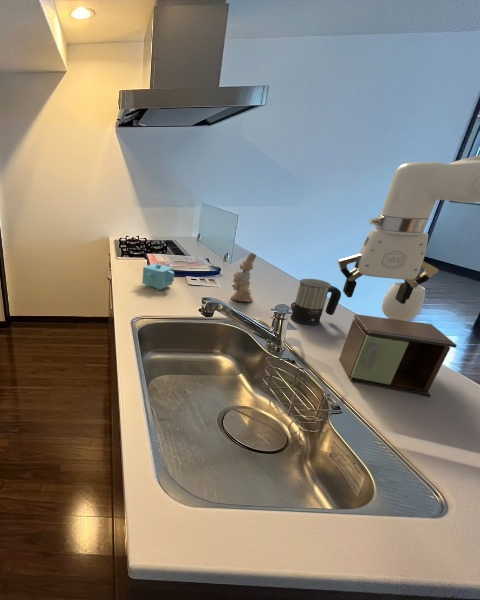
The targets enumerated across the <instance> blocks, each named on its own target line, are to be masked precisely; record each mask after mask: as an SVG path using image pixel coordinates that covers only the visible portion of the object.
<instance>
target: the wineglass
mask: <svg viewBox="0 0 480 600" xmlns="http://www.w3.org/2000/svg"><path fill="white" fill-rule="evenodd" d="M402 283H403V282H401V281H400V282H394V283H393V284H392V285H391V286H390V288H389V289H388V290H387V292H386V294H385V296H384V297H383V300H382V304H381V310H382V312H383V314H384V316H385V317H386V318H388V319H396V320H404V321H411V320H412V319H414V318H416V317H417V316H418V315H419V313H420V312H421V310H422V308H423V306H424V303H425V297H426V288H425V287H424V286H422V285H420V284H419V285H418V286H417V287H415V288H413V291H412V293H411V295H410V298H409V299H408V300H406V302H405V304H401V303H400V302H398V301H397V300H396V299H395V297H396V295H397V292H398V290H399V287H400V285H401V284H402Z"/></svg>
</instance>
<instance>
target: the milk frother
mask: <svg viewBox="0 0 480 600" xmlns="http://www.w3.org/2000/svg"><path fill="white" fill-rule="evenodd" d="M328 293H330V297H329V299H328V302H327V304H326V301H327V297H328ZM341 297H342V292H341V290H340V289H339V288H337V287H336V286H334V285H331V283H329V282H328V281H325V280H322V279H316V278H302V279H299V286H298V290H297V293H296V298H295V301H294V302H292V303H291V304H290V308H291V309H292V313H291V315H290V316H289V317H290V319H291V320H292V321H294V322H297V323H299V324H302V325H306V326H307V325H309V326H316V325H319V324H320V323H321V317H322V315H323V311H324V308H325V304H326V308H325V313H326V314H327V315H329V316H333V315H334V314H335V311H336V309H337V307H338V305H339V302H340V299H341Z"/></svg>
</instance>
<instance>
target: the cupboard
mask: <svg viewBox="0 0 480 600" xmlns="http://www.w3.org/2000/svg"><path fill="white" fill-rule="evenodd" d="M366 335H370V336H377V337H384V338H391V339H397V340H404V341H408V342H409V344H408V346H407V348H406V350H405V353H404V355H403V357H402V359H401V362H400V364H399V366H398V368H397V370H396V373H395V375H394V377H393V379H392V382H391V384H390V385H389V384H384V383H378V382H373V381H368V380H363V379H358V378H352V377H351V374H352V372H353V369H354V366H355V364H356V361H357V359H358V356H359V353H360V351H361V348H362V345H363V343H364V340H365V338H366ZM456 347H457V344H456V343H455V342H454V341H453V340H452V339H450V338H449V337H448V336H447V335H445V334H444V333H443V332H442V331H441V330H439V329H438V328H437V327H436V326H434V325H433V324H432V323H427V322H419V321H412V320H407V321H404V320H396V319H389V318H388V317H382V316H381V317H380V316H373V315H365V314H357V313H355V314H354V316H353V319H352V321H351V324H350V327H349V330H348V332H347V336H346V339H345V342H344V344H343V347H342V350H341V353H340V355H339V358H338V361H339V362H340V364H341V366H342V368H343V370H344V372H345V374H346V376H347V378H348V379H349V381H350V382H351V383H357V384H361V385H367V386H371V387H377V388H382V389H386V390H391V391H392V390H393V391H398V392H402V393H408V394H413V395H418V396H422V397H427V398H430V397H431V396H432V394H431V393H430V389H431V387H432V385H433V383H434V381H435V379H436V377H437V375H438V374H439V372H440V369H441V367H442V366H443V363H444V362H445V359H446V358H447V355H448V353H449V352H450V350H451V348H456Z"/></svg>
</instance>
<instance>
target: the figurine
mask: <svg viewBox="0 0 480 600" xmlns="http://www.w3.org/2000/svg"><path fill="white" fill-rule="evenodd" d="M256 257H257V254H255V253H253V252H249V254H248V255H247V257H246V258H245V259H244V260H243V261H242V263H240V264H239V269H240V270H242V272H241V271H239V270H237V271H236V272H235V273H234V274H233V280H232V282H233V284H232V285H231V287H232V289H233V291H234V293H233V294H232V295H231V296H230V299H231V300H233V301H235V302H236V301H237V302H245V303H251V302H254V299H253V297H252V296H251V289H250V285H251V284H252V283H251V282H250V280H251V272H250V271H252V270H253V269H254V265H253V263H254V262H255V259H256Z"/></svg>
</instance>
